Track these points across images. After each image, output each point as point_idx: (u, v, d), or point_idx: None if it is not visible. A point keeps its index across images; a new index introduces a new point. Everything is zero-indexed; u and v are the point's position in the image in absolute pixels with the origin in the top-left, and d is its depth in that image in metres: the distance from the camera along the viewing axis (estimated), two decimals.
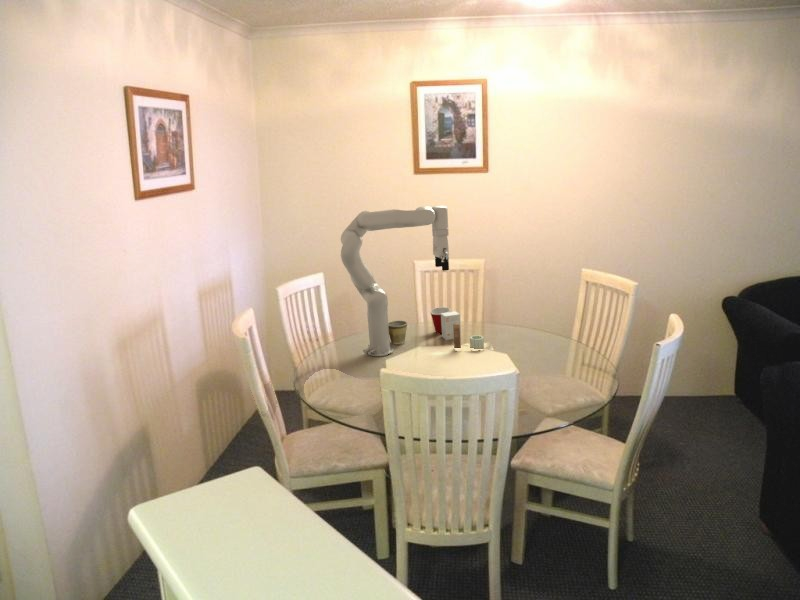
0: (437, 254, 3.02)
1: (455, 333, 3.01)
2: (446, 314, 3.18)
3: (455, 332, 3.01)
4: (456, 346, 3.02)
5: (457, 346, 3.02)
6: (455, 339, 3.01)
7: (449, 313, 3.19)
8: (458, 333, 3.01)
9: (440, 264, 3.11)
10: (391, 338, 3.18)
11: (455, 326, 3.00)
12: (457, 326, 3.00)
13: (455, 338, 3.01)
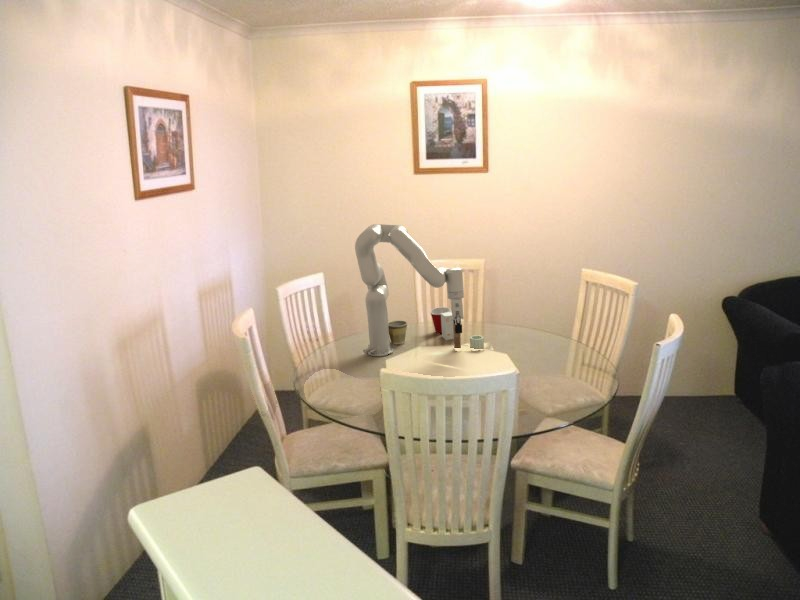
0: None
1: (455, 333, 3.01)
2: (446, 314, 3.18)
3: None
4: (456, 346, 3.02)
5: (457, 346, 3.02)
6: (455, 339, 3.01)
7: (449, 313, 3.19)
8: (458, 333, 3.01)
9: None
10: (391, 338, 3.18)
11: None
12: None
13: (455, 338, 3.01)
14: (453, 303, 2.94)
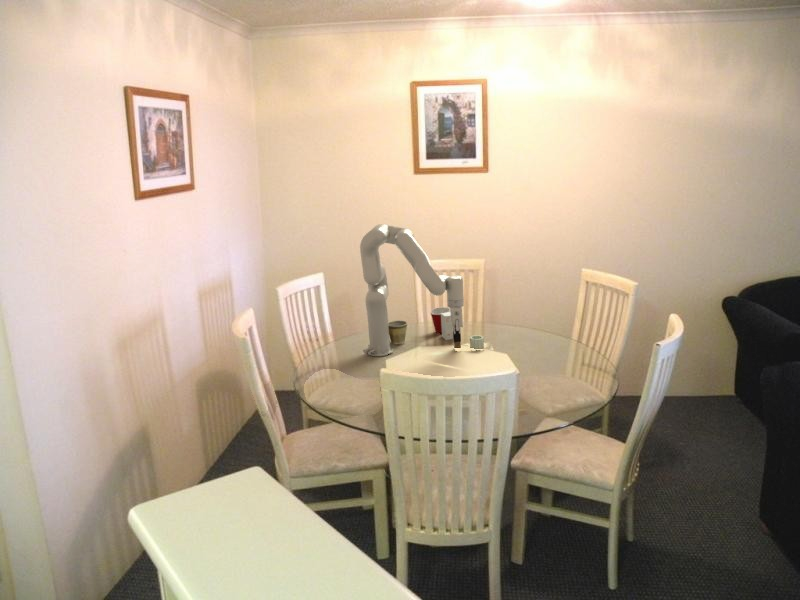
0: None
1: None
2: (446, 314, 3.18)
3: None
4: (456, 346, 3.02)
5: (457, 346, 3.02)
6: None
7: (449, 313, 3.19)
8: None
9: None
10: (391, 338, 3.18)
11: (455, 326, 3.00)
12: None
13: None
14: (453, 311, 2.95)
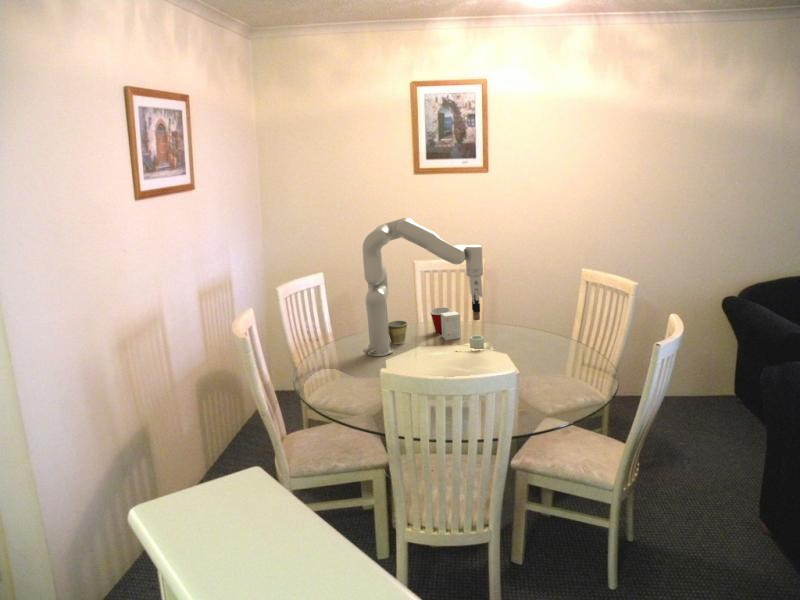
0: None
1: None
2: (446, 314, 3.18)
3: None
4: (475, 316, 2.99)
5: (476, 316, 2.99)
6: None
7: (449, 313, 3.19)
8: None
9: None
10: (391, 338, 3.18)
11: (474, 296, 2.96)
12: None
13: None
14: (472, 280, 2.91)
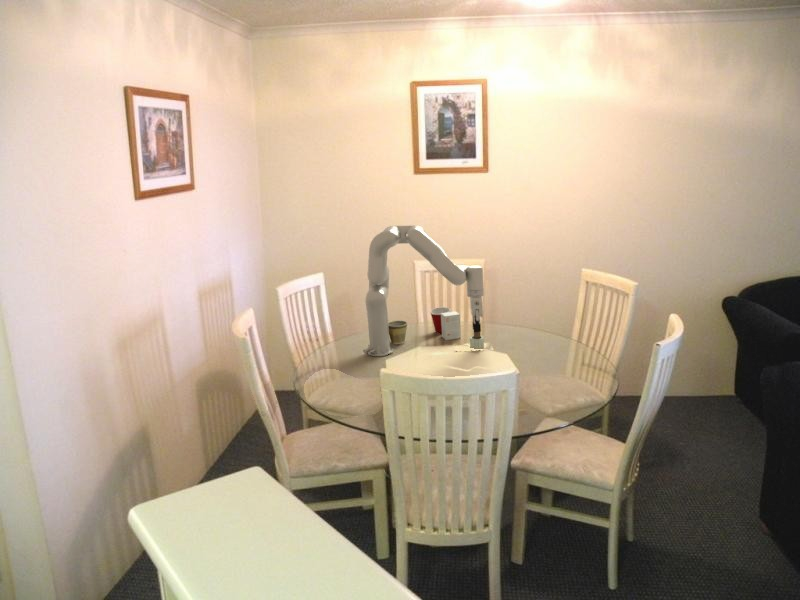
0: None
1: None
2: (446, 314, 3.18)
3: None
4: (476, 336, 3.01)
5: (477, 336, 3.01)
6: None
7: (449, 313, 3.19)
8: None
9: None
10: (391, 338, 3.18)
11: (475, 316, 2.99)
12: None
13: None
14: (473, 301, 2.94)
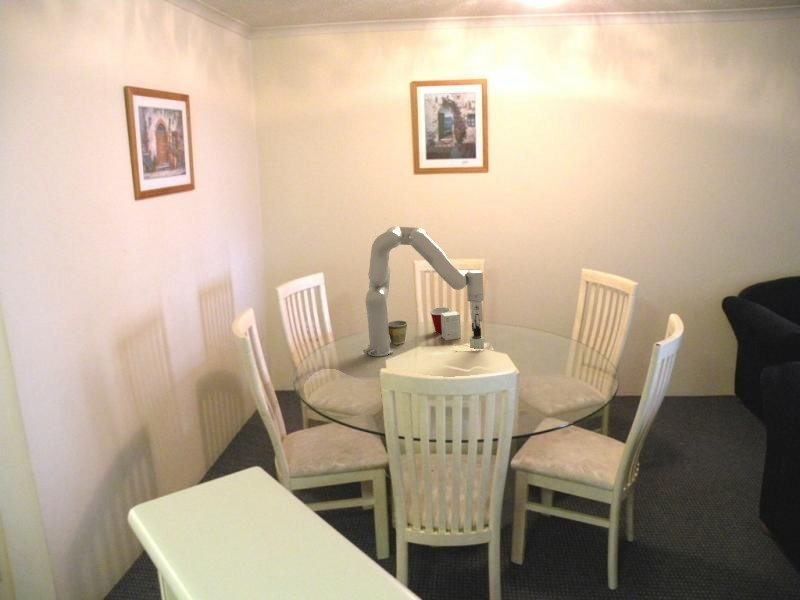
0: None
1: None
2: (446, 314, 3.18)
3: None
4: None
5: None
6: (475, 337, 3.01)
7: (449, 313, 3.19)
8: None
9: None
10: (391, 338, 3.18)
11: None
12: None
13: None
14: (473, 306, 2.94)
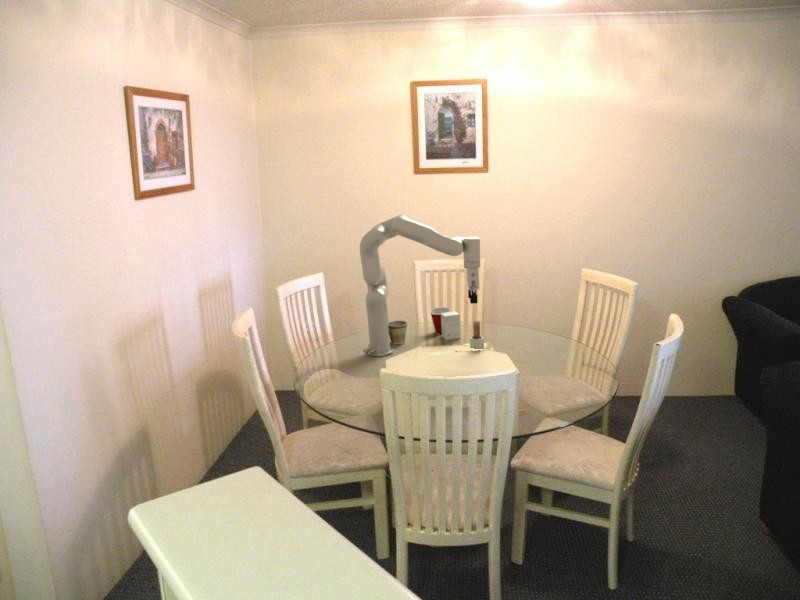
0: None
1: (475, 331, 3.00)
2: (446, 314, 3.18)
3: (475, 330, 3.00)
4: None
5: None
6: (475, 337, 3.01)
7: (449, 313, 3.19)
8: (478, 331, 3.00)
9: None
10: (391, 338, 3.18)
11: (475, 324, 2.99)
12: (477, 324, 2.99)
13: (475, 336, 3.01)
14: (469, 272, 2.91)
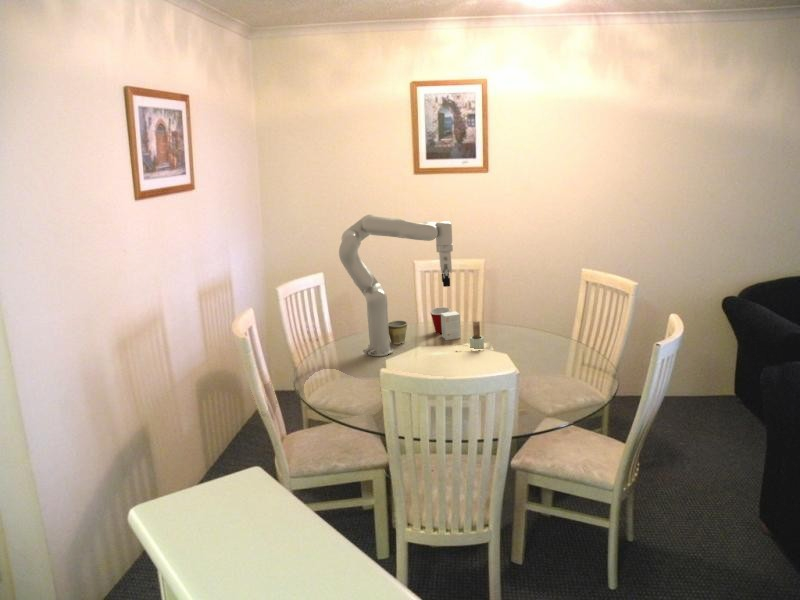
0: None
1: (475, 331, 3.00)
2: (446, 314, 3.18)
3: (475, 330, 3.00)
4: None
5: None
6: (475, 337, 3.01)
7: (449, 313, 3.19)
8: (478, 331, 3.00)
9: None
10: (391, 338, 3.18)
11: (475, 324, 2.99)
12: (477, 324, 2.99)
13: (475, 336, 3.01)
14: (442, 256, 2.97)
